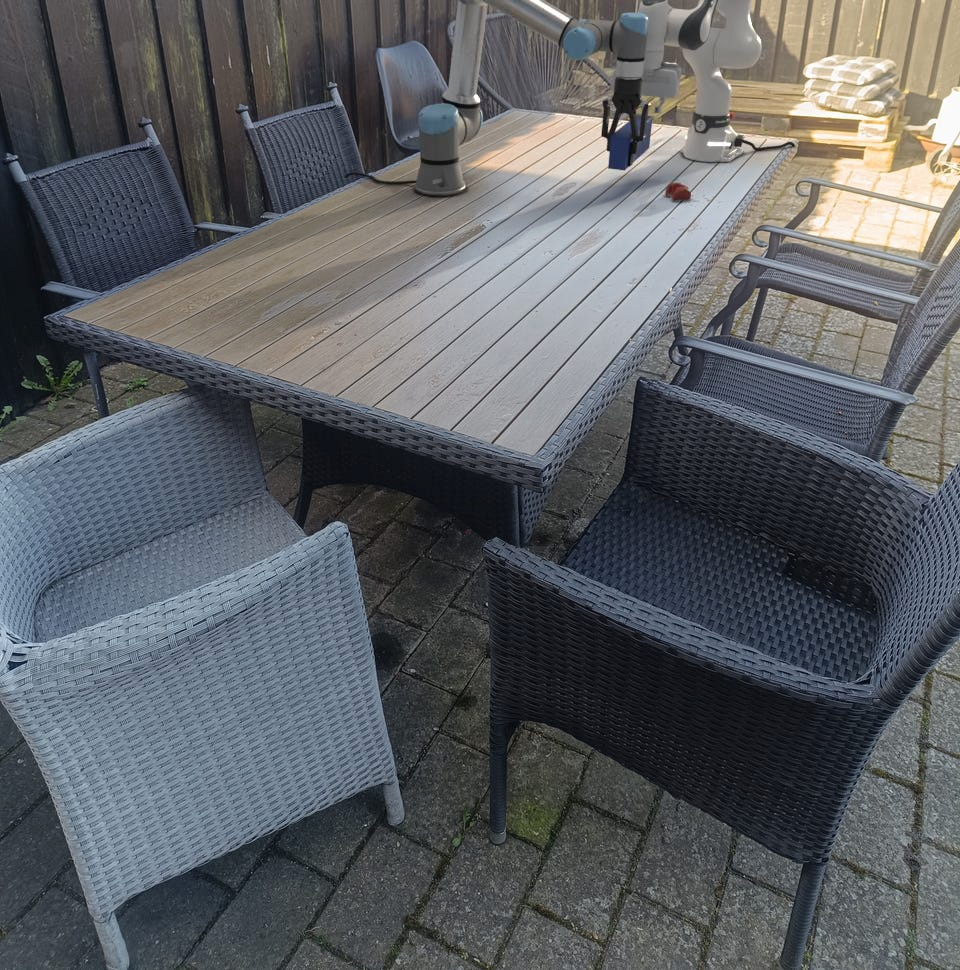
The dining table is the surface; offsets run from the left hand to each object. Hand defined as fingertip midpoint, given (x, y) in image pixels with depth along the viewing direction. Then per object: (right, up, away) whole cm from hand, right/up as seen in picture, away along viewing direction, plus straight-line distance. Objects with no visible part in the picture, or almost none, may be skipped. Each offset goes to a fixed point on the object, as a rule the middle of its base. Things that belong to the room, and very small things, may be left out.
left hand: (620, 164), depth 246 cm
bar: (+4, +5, +8) cm, 10 cm away
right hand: (+8, +19, +8) cm, 22 cm away
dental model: (+18, -8, +6) cm, 21 cm away
